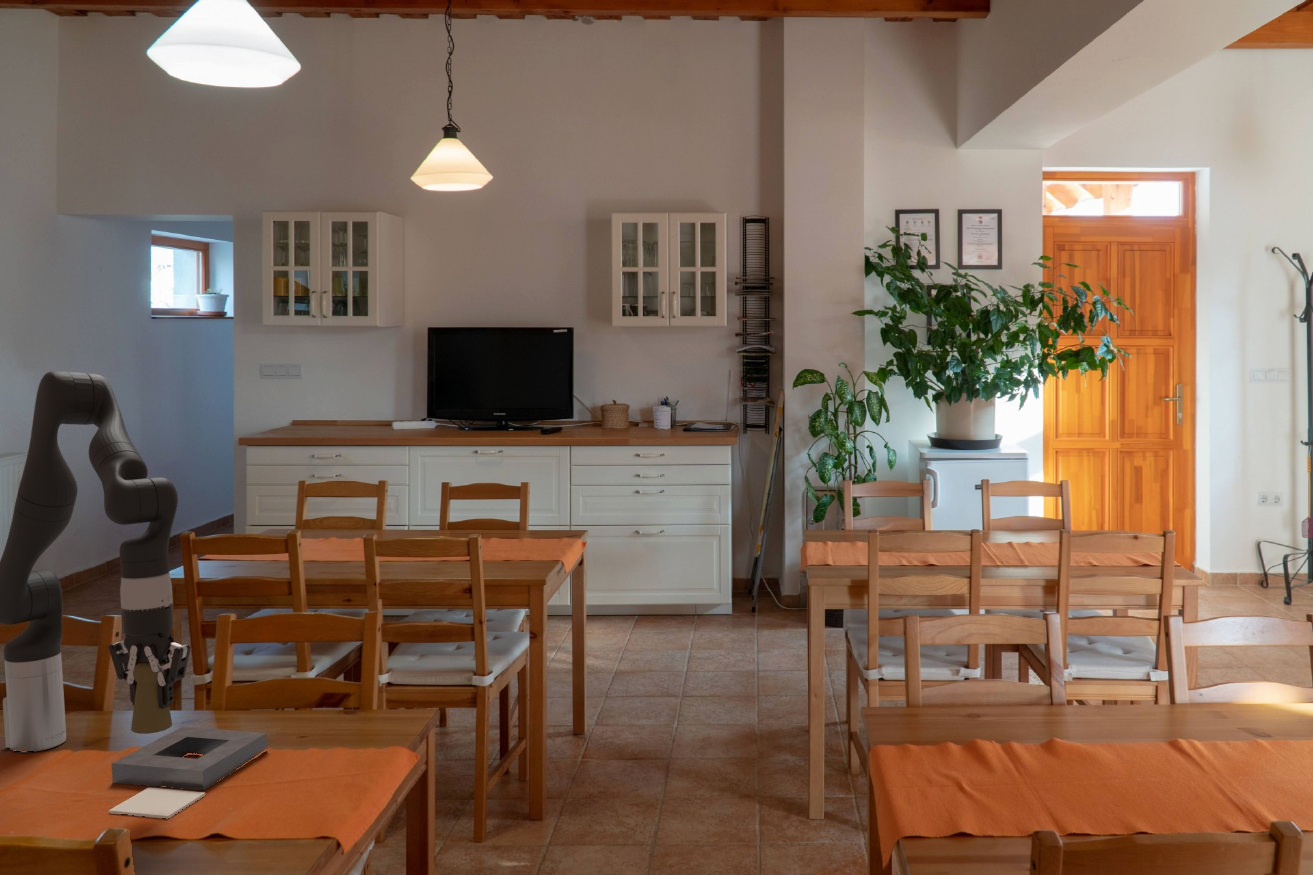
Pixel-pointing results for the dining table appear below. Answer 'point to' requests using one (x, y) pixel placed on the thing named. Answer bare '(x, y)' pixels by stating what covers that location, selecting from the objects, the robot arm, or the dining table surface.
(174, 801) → the pad
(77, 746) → the dining table surface
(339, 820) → the dining table surface
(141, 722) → the cork
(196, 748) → the frame
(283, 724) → the dining table surface
